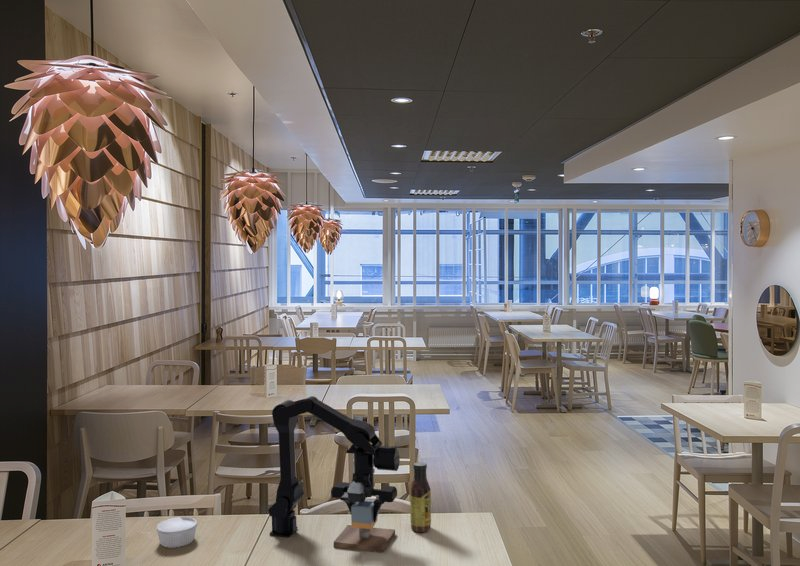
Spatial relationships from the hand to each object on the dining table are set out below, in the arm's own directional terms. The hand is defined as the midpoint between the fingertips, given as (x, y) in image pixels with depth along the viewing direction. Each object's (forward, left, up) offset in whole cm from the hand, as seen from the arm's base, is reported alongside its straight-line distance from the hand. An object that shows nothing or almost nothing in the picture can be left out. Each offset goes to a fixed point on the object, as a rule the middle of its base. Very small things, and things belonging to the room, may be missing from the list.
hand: (364, 520), depth 185 cm
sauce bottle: (+14, +12, -6) cm, 19 cm away
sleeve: (0, 0, -1) cm, 1 cm away
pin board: (0, 0, -6) cm, 6 cm away
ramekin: (-54, -13, -6) cm, 56 cm away
